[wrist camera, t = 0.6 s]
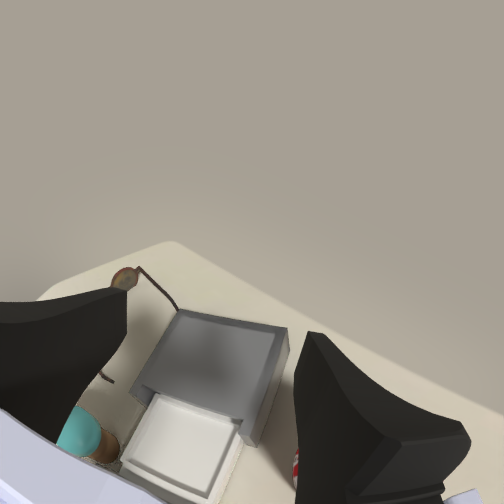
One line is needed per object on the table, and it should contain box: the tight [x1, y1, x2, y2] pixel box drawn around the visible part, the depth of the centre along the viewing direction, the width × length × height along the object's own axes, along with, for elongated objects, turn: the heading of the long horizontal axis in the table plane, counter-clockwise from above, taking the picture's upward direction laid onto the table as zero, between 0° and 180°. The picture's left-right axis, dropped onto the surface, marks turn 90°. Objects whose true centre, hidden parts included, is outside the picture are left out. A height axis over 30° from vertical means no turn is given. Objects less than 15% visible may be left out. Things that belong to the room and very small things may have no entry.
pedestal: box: [88, 427, 120, 464], centre depth 22 cm, size 4×4×4 cm
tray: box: [96, 393, 244, 504], centre depth 21 cm, size 13×12×4 cm
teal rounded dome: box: [57, 406, 101, 457], centre depth 20 cm, size 5×5×2 cm
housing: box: [129, 309, 290, 448], centre depth 28 cm, size 12×13×4 cm
